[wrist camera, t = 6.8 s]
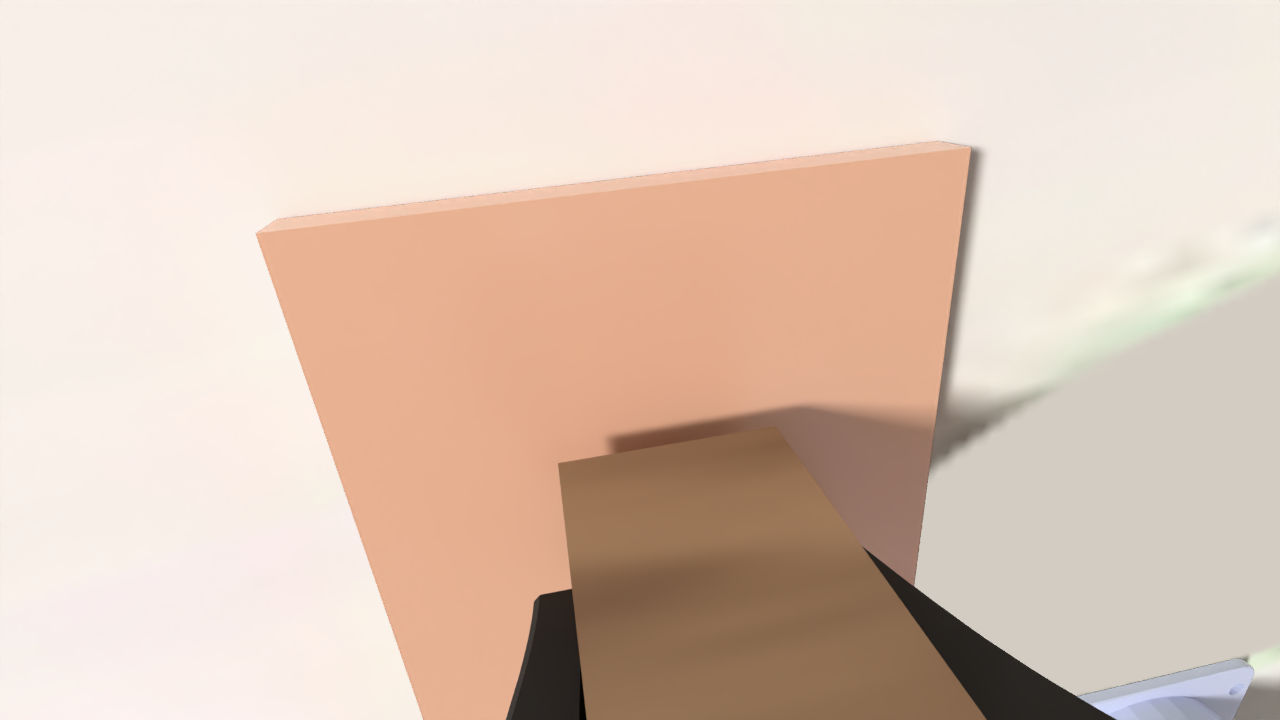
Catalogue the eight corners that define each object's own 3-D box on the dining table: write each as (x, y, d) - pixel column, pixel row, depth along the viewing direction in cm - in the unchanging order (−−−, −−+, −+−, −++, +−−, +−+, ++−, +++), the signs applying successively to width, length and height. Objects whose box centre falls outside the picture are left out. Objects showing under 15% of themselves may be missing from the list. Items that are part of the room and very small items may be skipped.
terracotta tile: (884, 631, 18) (904, 661, 17) (442, 727, 16) (439, 765, 16) (938, 141, 12) (971, 147, 11) (277, 219, 11) (255, 233, 10)
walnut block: (774, 589, 14) (944, 931, 8) (585, 627, 13) (635, 1018, 8) (775, 426, 12) (990, 725, 7) (558, 463, 11) (598, 819, 6)
